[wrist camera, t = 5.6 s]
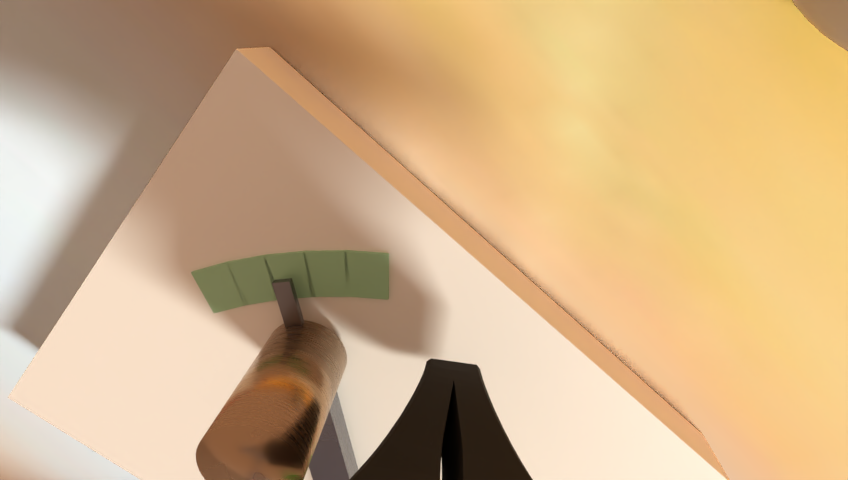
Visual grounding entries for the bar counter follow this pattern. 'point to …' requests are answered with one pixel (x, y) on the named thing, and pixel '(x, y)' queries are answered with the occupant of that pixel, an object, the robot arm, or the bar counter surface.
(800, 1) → the teacup
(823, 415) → the bar counter surface
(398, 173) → the board
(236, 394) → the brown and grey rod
